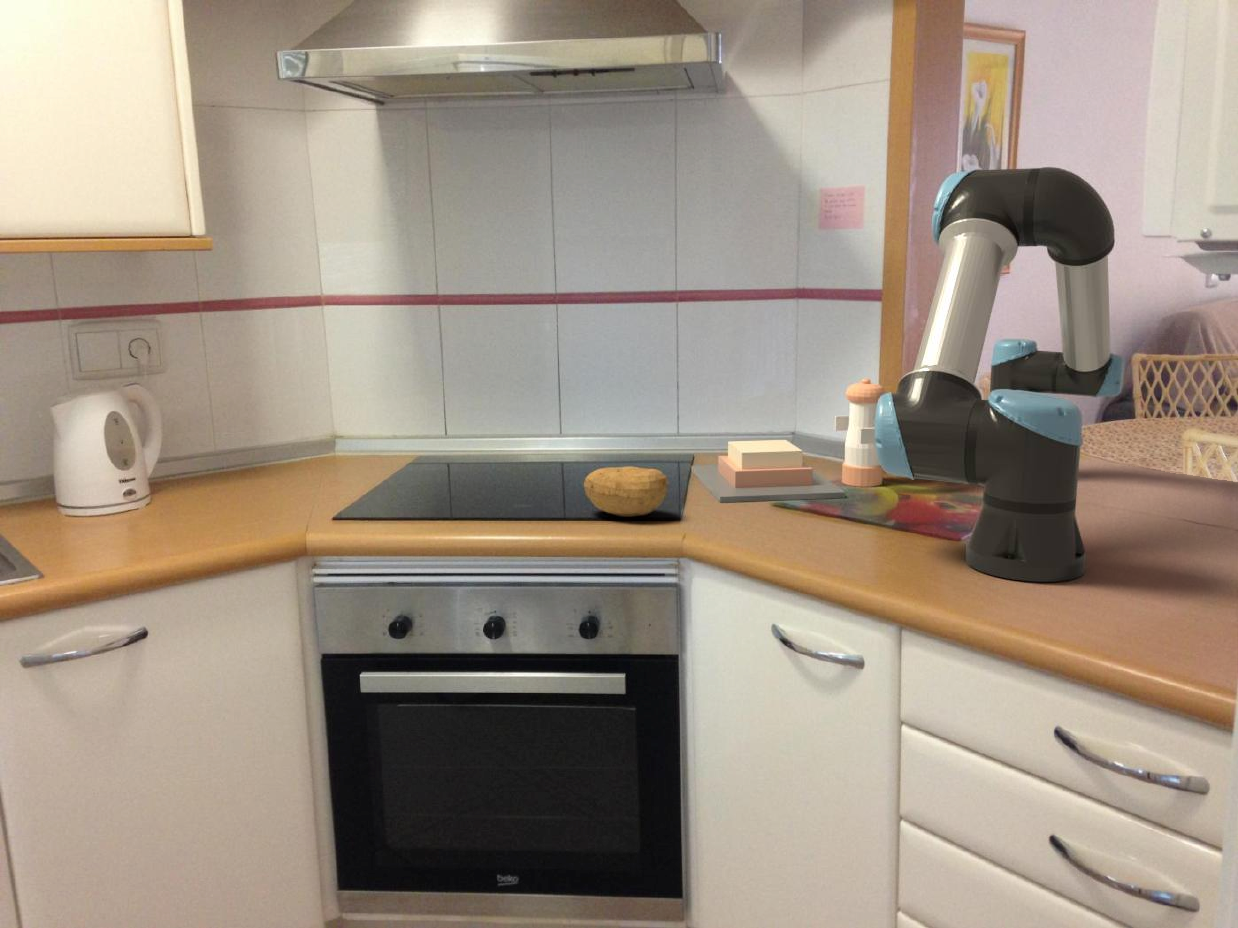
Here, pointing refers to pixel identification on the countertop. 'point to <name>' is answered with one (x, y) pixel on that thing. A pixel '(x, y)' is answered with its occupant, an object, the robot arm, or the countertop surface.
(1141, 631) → the countertop surface
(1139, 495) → the countertop surface
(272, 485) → the countertop surface
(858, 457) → the pepper shaker
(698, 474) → the stacked blocks on tray
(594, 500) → the potato
